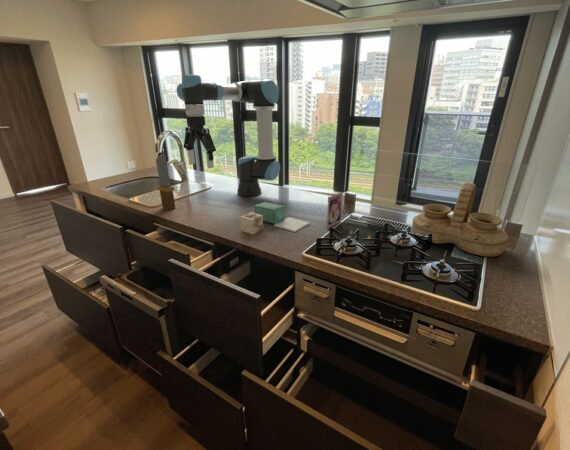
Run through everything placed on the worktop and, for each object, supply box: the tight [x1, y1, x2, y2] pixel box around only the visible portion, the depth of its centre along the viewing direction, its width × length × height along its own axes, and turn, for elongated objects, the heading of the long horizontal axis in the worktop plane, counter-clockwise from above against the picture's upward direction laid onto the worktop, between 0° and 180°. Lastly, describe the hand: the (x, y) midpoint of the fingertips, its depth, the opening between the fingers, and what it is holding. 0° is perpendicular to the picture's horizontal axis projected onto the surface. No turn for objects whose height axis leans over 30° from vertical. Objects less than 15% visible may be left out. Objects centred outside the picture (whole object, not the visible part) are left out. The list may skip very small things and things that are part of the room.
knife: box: [155, 153, 176, 211], centre depth 158 cm, size 8×4×30 cm, turn 62°
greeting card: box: [326, 190, 344, 229], centre depth 139 cm, size 11×7×15 cm, turn 137°
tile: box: [273, 217, 311, 233], centre depth 140 cm, size 12×12×1 cm
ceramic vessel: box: [411, 181, 509, 257], centre depth 117 cm, size 34×18×25 cm, turn 50°
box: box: [254, 201, 286, 225], centre depth 144 cm, size 7×14×8 cm, turn 50°
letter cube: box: [240, 211, 264, 235], centre depth 134 cm, size 7×7×7 cm
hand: (201, 166), depth 133 cm, fingers open, 13 cm apart
